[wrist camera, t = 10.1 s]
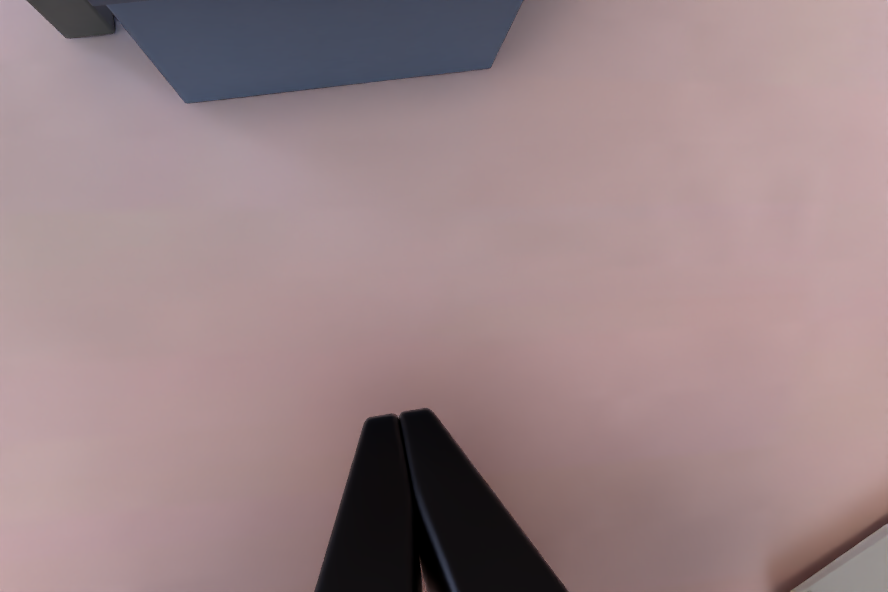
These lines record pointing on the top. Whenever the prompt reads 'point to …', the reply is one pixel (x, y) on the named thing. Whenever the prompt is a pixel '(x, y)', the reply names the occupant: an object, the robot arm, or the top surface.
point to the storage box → (309, 41)
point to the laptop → (855, 568)
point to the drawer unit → (76, 17)
